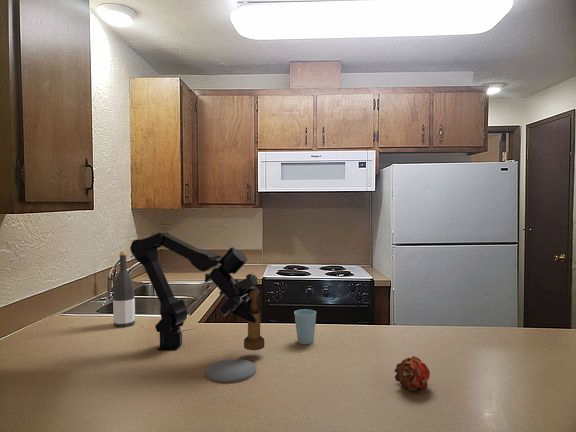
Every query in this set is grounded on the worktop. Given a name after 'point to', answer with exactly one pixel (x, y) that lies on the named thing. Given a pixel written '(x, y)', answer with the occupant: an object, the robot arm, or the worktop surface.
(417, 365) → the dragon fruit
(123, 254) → the wine bottle
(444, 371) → the worktop surface
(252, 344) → the wooden pepper mill
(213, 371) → the mat
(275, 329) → the worktop surface
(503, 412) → the worktop surface
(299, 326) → the cup
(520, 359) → the worktop surface
